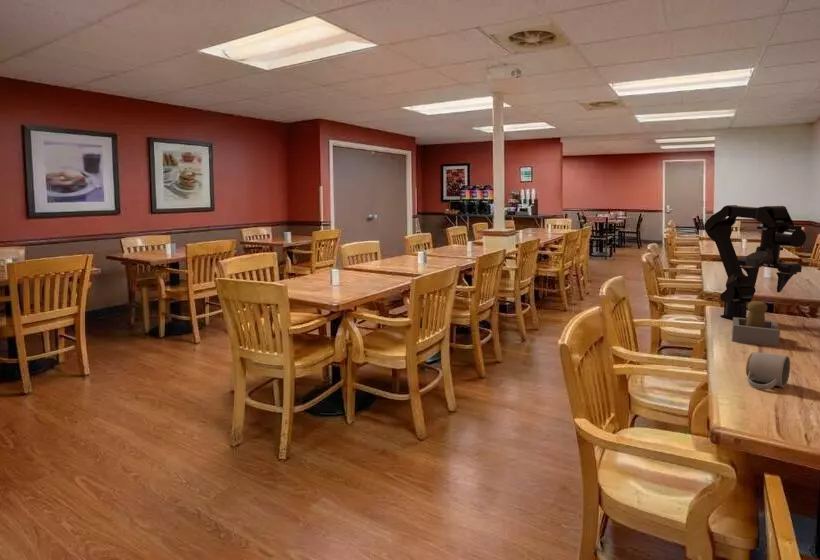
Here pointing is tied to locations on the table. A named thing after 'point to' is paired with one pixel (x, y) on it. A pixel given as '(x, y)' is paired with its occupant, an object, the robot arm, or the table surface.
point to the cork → (756, 314)
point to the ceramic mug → (767, 370)
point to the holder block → (755, 332)
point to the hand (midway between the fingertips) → (765, 289)
